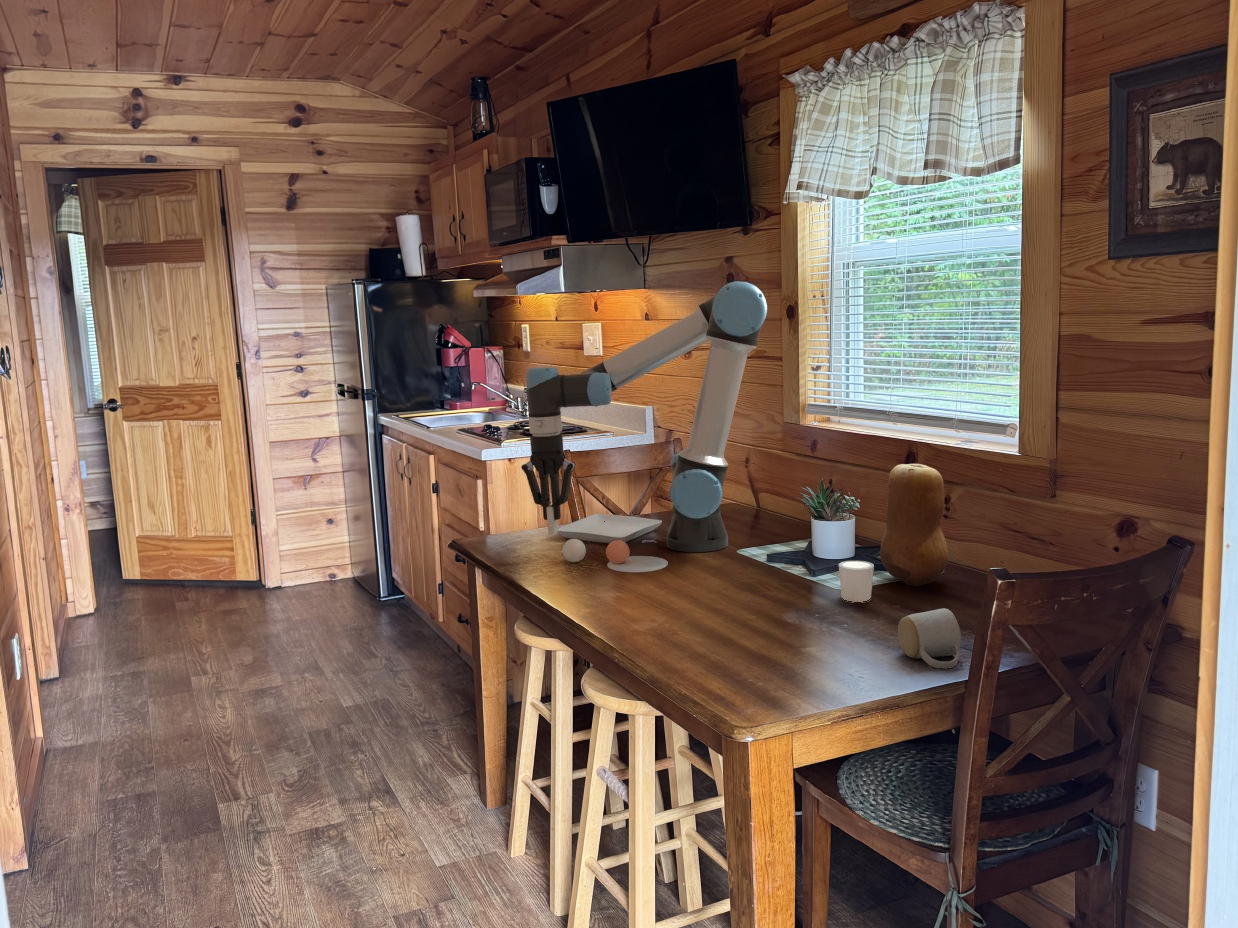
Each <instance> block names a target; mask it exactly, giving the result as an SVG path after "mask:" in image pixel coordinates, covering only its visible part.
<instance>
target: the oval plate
mask: <svg viewBox="0 0 1238 928" xmlns="http://www.w3.org/2000/svg"><path fill="white" fill-rule="evenodd" d="M668 564H669V562H668V561H667V560H666V559H664V558H661V557H657V556H649V555H632V556H630V555H629V558H628V559H627V560H626V561H625V562H624V563H621V564H615V563H612V562H611V561H610V560H609V562H607V568H609V569H610V570H612V571H616V572H621V573H622V572H624V573H646V572H648V573H649V572H655V571H659V570H661V569H664V568H666V567H667V566H668Z"/></svg>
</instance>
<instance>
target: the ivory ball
mask: <svg viewBox="0 0 1238 928" xmlns="http://www.w3.org/2000/svg"><path fill="white" fill-rule="evenodd" d="M586 553H587V549H586V546H585V544H584V541H582V540H578V539H570V538H569V539H568V540H566V542H565V543H564V544H563V546H562V555H563V556H562V557H564V559H565V560H566V561H568V562H570V563H578V562H581V561H582V560H583V559H584V557H585V556H586Z"/></svg>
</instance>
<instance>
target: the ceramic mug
mask: <svg viewBox="0 0 1238 928" xmlns="http://www.w3.org/2000/svg"><path fill="white" fill-rule="evenodd" d="M960 629H961V628H960V625H959V623H958V620H957V618H956V617H955V615H954V613H953V612H952V611H951V610H950V609H948V608H937V609H933V610H928V611H923V612H916V613H911V614H909V615H908V614H907V615H906V616H903V617H902V618H901V619H900V620H899V622H898V625H897V639H898V643H899V647H900V648H901V650H902V651H903V653H904V654H905V655H906V656H907V657H908V656H909V658H910V657H911V659H922V660H923V661H924V662H925V663H926V664H927V665H929V666H930V667H933V668H934V667H935V669H939V668H949V669H951V668H950V667H952V668H954V667H955V666H957V664H958V661H959V658H960V652H959V651H960V650H961V644H962V635H961V630H960ZM940 656H941V657H948V656H954V657H953V659H952V660H950V661H940V660H937V659H934V658H937V657H938V658H940ZM953 666H954V667H953Z"/></svg>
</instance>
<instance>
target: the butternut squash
mask: <svg viewBox="0 0 1238 928" xmlns="http://www.w3.org/2000/svg"><path fill="white" fill-rule="evenodd" d="M941 474H942V473H940V472H939V471H938V470H937V469H935V468H933V467H930V466H928V465H925V464H920V463H908V464H907V463H906V464H905V463H902V464H897V465H896V466H894V467H893V468H892V470H891V471H890V472H889V475H888V479H887V486H886V487H887V491H886V492H887V505H886V523H885V524H886V526H885V528H884V529H885V530H884V532H883V536H882V538H881V544H880V550H879V551H880V552H879V553H880V554H879V559H880V561H881V563H882V565H883V567H884V568H885V569H886V572H888V573H889V575H890V576H892V578H894V579H897V580H899V581H901V582H903V583H904V584H905V585H907V586H911V585H912V587H916V586H918V587H920V586H922V585H926V584H931V583H933V582H935V581H936V580H937V579H938V578H939V577H940V575H941V574H942V573H943V572H944V570H945V569H946V566H947V564H948V560H949V549H948V544H947V542H946V541H947V540H946V539H945V535H944V533H943V531H942V526H941V523H942V522H941V520H942V517H943V513H944V506H945V492H944V490H945V488H944V487H945V485H944V483H945V482H944V479H943V476H942V475H941Z"/></svg>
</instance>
